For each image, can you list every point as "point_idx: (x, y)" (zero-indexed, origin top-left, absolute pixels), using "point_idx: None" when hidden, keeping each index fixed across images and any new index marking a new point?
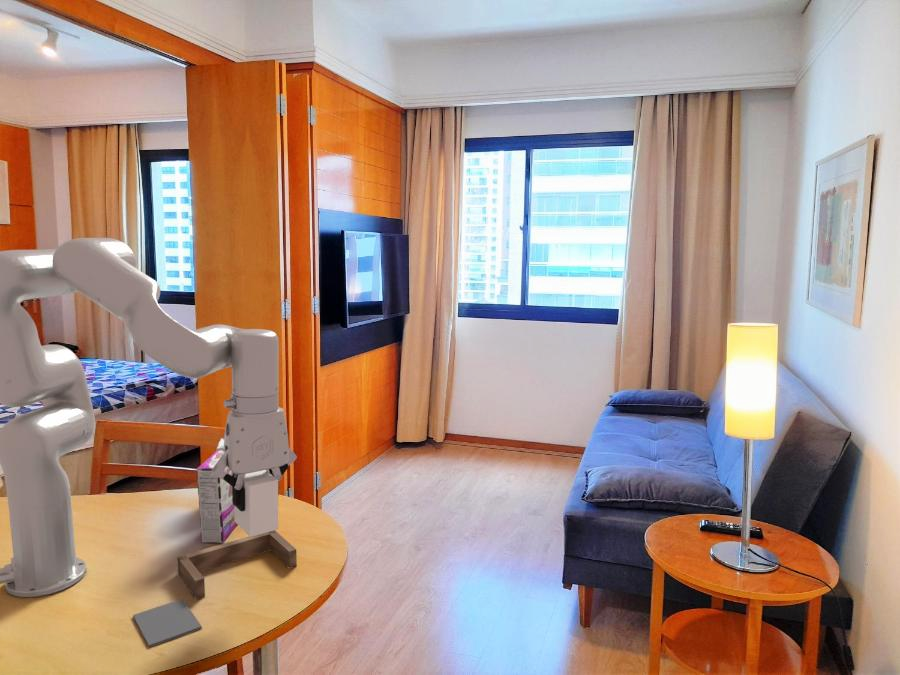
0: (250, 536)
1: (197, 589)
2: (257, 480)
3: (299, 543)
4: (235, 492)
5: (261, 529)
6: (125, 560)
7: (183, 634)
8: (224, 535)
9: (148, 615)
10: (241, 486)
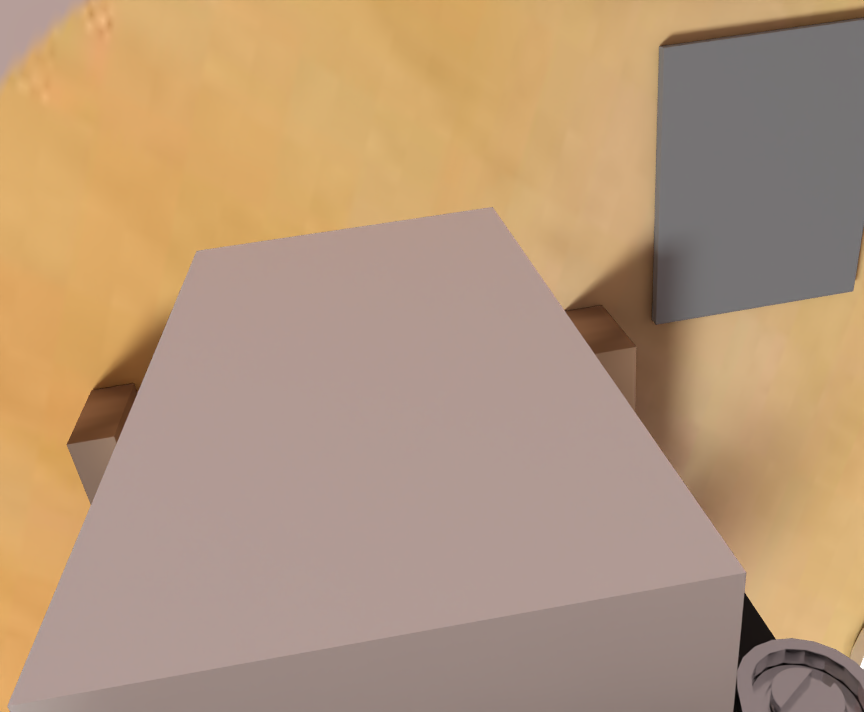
0: (486, 210)
1: (611, 326)
2: None
3: (41, 580)
4: (762, 634)
5: (378, 237)
6: None
7: (744, 34)
8: None
9: (809, 259)
10: (747, 691)
